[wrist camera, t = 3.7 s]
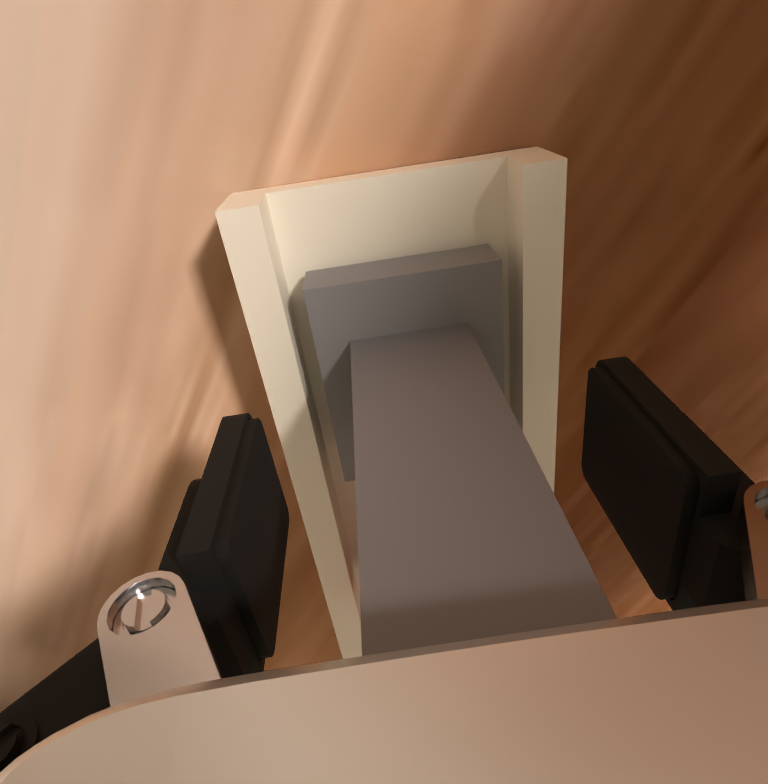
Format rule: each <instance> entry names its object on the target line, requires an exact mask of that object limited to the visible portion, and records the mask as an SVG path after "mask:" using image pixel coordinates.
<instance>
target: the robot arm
mask: <svg viewBox="0 0 768 784" xmlns="http://www.w3.org/2000/svg"><path fill="white" fill-rule="evenodd" d="M582 471H583V475H584V477H585V479H586V481H587V483H588V485H589V486H590V488H591V490H592V491H593V493H594V495H595V496H596V498H597V500H598V501H599V503H600V505H601V506H602V508H603V510H604V511H605V513H606V515H607V516H608V518H609V520H610V521H611V523H612V525H613V526H614V528H615V530H616V531H617V533H618V535H619V536H620V538H621V540H622V541H623V543H624V545H625V546H626V548H627V550H628V551H629V553H630V555H631V556H632V558H633V560H634V561H635V563H636V565H637V566H638V568H639V570H640V571H641V573H642V575H643V576H644V578H645V580H646V581H647V583H648V585H649V586H650V588H651V590H652V591H653V593H654V594H655V596H656V597H657V598H658V599H661V600H662V599H666V601H667V602H668V604H669V605H670V607H671V609H672V610H673V611H667V612H660V613H653V614H646V615H639V616H632V617H625V618H618V619H610V620H603V621H596V622H589V623H582V624H575V625H568V626H561V627H555V628H548V629H541V630H534V631H527V632H520V633H513V634H506V635H500V636H493V637H486V638H479V639H472V640H466V641H459V642H452V643H445V644H439V645H432V646H425V647H418V648H412V649H405V650H399V651H392V652H385V653H379V654H372V655H366V656H359V657H353V658H346V659H339V660H333V661H326V662H320V663H313V664H307V665H300V666H293V667H287V668H281V669H275V670H269V671H264V663H265V658H267V657H272V656H273V654H274V650H275V642H276V633H277V624H278V616H279V607H280V598H281V589H282V580H283V571H284V562H285V554H286V545H287V536H288V527H289V514H288V508H287V505H286V501H285V498H284V495H283V491H282V488H281V485H280V481H279V478H278V475H277V471H276V468H275V465H274V462H273V458H272V455H271V452H270V448H269V445H268V442H267V438H266V435H265V432H264V429H263V425H262V422H261V420H260V419H259V418H256V419H252V417H251V415H250V414H249V413H246V414H239V415H233V416H226V417H223V418H222V420H221V423H220V426H219V429H218V432H217V435H216V438H215V441H214V444H213V447H212V450H211V453H210V455H209V458H208V461H207V464H206V467H205V470H204V473H203V476H202V479H196V480H193V481H192V482H191V483H190V485H189V487H188V489H187V492H186V495H185V498H184V500H183V503H182V506H181V509H180V511H179V514H178V517H177V520H176V522H175V525H174V528H173V531H172V533H171V536H170V539H169V542H168V544H167V547H166V550H165V553H164V555H163V558H162V561H161V564H160V566H159V569H158V571H154V572H148V573H145V574H143V575H140V576H137V577H135V578H133V579H131V580H130V581H128V582H127V583H125V584H123V585H122V586H121V587H119V588H118V589H117V590H116V591H115V592H114V593H113V594H112V595H111V596H110V597H109V598H108V600H107V601H106V602H105V604H104V605H103V606H102V608H101V611H100V613H99V615H98V618H97V632H98V639H96V640H95V641H94V642H92V643H91V644H90V645H88V646H87V647H86V648H84V649H83V650H82V651H81V652H79V653H78V654H77V655H75V656H74V657H73V658H71V659H70V660H69V661H67V662H66V663H65V664H64V665H62V666H61V667H60V668H58V669H57V670H56V671H54V672H53V673H52V674H50V675H49V676H48V677H46V678H45V679H44V680H43V681H41V682H40V683H39V684H37V685H36V686H35V687H33V688H32V689H31V690H29V691H28V692H27V693H26V694H24V695H23V696H22V697H20V698H19V699H18V700H16V701H15V702H14V703H12V704H11V705H10V706H9V707H7V708H6V709H5V710H3V711H2V712H1V713H0V784H768V481H762V482H758V483H756V484H755V483H754V482H753V481H752V480H751V479H750V478H749V477H748V476H747V475H746V474H745V473H744V472H743V471H742V470H741V469H740V468H739V467H738V466H737V465H736V464H735V463H734V462H733V461H732V460H731V459H730V458H729V457H728V456H727V455H726V454H725V453H724V452H723V451H722V450H721V449H720V448H719V447H718V446H717V445H716V444H715V443H714V442H713V441H712V440H711V439H710V438H709V437H708V436H707V435H706V434H705V433H704V432H703V431H702V430H701V429H700V428H699V427H698V426H697V425H696V424H695V423H694V422H693V421H692V420H690V419H689V418H688V417H687V416H686V415H685V414H684V413H683V412H682V411H681V410H680V409H679V408H678V407H677V406H676V405H675V404H674V403H673V402H672V401H671V400H670V399H669V398H668V397H667V396H666V395H665V394H664V393H663V392H662V391H661V390H660V389H659V388H658V387H657V386H656V385H655V384H654V383H653V382H652V381H651V380H650V379H649V378H648V377H647V376H646V375H645V374H644V373H643V372H642V371H641V370H640V369H639V368H638V367H637V366H636V365H635V364H634V363H633V362H632V361H631V360H630V359H629V358H627V357H619V358H612V359H605V360H599V361H598V362H597V364H596V368H591V369H590V370H589V372H588V383H587V396H586V410H585V424H584V438H583V451H582Z"/></svg>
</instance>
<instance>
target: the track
mask: <svg viewBox="0 0 768 784" xmlns="http://www.w3.org/2000/svg"><path fill="white" fill-rule="evenodd" d="M567 159H568V158H566V157H564V156H561V155H558V154H556V153H553V152H550V151H548V150H545V149H543V148H540V147H537V146H535V147H529V148H522V149H516V150H509V151H503V152H496V153H490V154H483V155H477V156H470V157H464V158H457V159H451V160H444V161H437V162H431V163H424V164H418V165H411V166H405V167H398V168H392V169H385V170H379V171H372V172H366V173H359V174H353V175H346V176H340V177H333V178H327V179H320V180H314V181H307V182H301V183H294V184H288V185H281V186H275V187H268V188H262V189H255V190H249V191H242V192H235V193H231V194H230V195H229V196H228V197H227V199H226V200H225V201H224V202H223V203H222V204H221V205H220V206H219V208H218V209H217V210H216V211H215V216H216V219H217V223H218V226H219V230H220V233H221V237H222V240H223V244H224V247H225V251H226V254H227V257H228V261H229V264H230V268H231V271H232V275H233V278H234V282H235V285H236V289H237V292H238V296H239V299H240V303H241V306H242V310H243V313H244V317H245V320H246V324H247V327H248V331H249V334H250V338H251V341H252V345H253V348H254V351H255V355H256V358H257V362H258V365H259V369H260V372H261V376H262V379H263V383H264V386H265V390H266V393H267V397H268V400H269V404H270V407H271V411H272V414H273V418H274V421H275V425H276V428H277V432H278V435H279V439H280V442H281V445H282V449H283V452H284V456H285V459H286V463H287V466H288V470H289V473H290V477H291V480H292V484H293V487H294V491H295V494H296V498H297V501H298V505H299V508H300V512H301V515H302V519H303V522H304V526H305V529H306V533H307V536H308V539H309V543H310V546H311V550H312V553H313V557H314V560H315V564H316V567H317V571H318V574H319V578H320V581H321V585H322V588H323V592H324V595H325V599H326V602H327V606H328V609H329V613H330V616H331V620H332V623H333V627H334V630H335V633H336V637H337V640H338V644H339V647H340V651H341V654H342V658H343V659H346V658H353V657H359V656H362V642H361V616H360V589H359V563H358V536H357V510H356V483H355V480H353V481H347V482H345V480H344V475H343V471H342V466H341V462H340V457H339V453H338V448H337V443H336V439H335V434H334V430H333V425H332V421H331V416H330V412H329V407H328V403H327V398H326V394H325V389H324V385H323V380H322V376H321V371H320V367H319V362H318V358H317V353H316V348H315V344H314V339H313V335H312V330H311V326H310V321H309V317H308V312H307V308H306V303H305V299H304V294H303V285H304V279H305V273H306V271H312V270H319V269H325V268H332V267H339V266H345V265H352V264H358V263H365V262H371V261H378V260H385V259H391V258H398V257H404V256H411V255H417V254H424V253H431V252H437V251H444V250H450V249H457V248H464V247H470V246H477V245H483V244H489V246H490V247H491V248H492V249H493V250H494V251H495V253H496V254H497V255H498V256H499V257H500V258H501V260H502V295H503V345H504V396H505V398H506V400H507V402H508V404H509V406H510V408H511V410H512V412H513V414H514V416H515V418H516V420H517V422H518V424H519V426H520V428H521V430H522V432H523V434H524V436H525V437H526V439H527V441H528V443H529V445H530V447H531V449H532V451H533V453H534V455H535V457H536V459H537V461H538V463H539V465H540V467H541V469H542V471H543V473H544V475H545V477H546V479H547V481H548V483H549V485H550V487H551V489H552V491H553V493H554V481H555V456H556V431H557V407H558V382H559V357H560V332H561V308H562V283H563V258H564V233H565V209H566V184H567Z"/></svg>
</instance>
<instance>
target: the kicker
mask: <svg viewBox="0 0 768 784" xmlns="http://www.w3.org/2000/svg"><path fill="white" fill-rule="evenodd" d="M303 294H304V299H305V303H306V308H307V312H308V317H309V321H310V326H311V330H312V335H313V339H314V344H315V348H316V353H317V358H318V362H319V367H320V371H321V376H322V380H323V385H324V389H325V394H326V398H327V403H328V407H329V412H330V416H331V421H332V425H333V430H334V434H335V439H336V443H337V448H338V453H339V457H340V462H341V466H342V471H343V475H344V480H345V482H347V481H353V480H355V483H356V510H357V536H358V563H359V589H360V616H361V642H362V656H366V655H372V654H379V653H385V652H392V651H399V650H405V649H412V648H418V647H425V646H432V645H439V644H445V643H452V642H459V641H466V640H472V639H479V638H486V637H493V636H500V635H506V634H513V633H520V632H527V631H534V630H541V629H548V628H555V627H561V626H568V625H575V624H582V623H589V622H596V621H603V620H610V619H617V617H616V615H615V613H614V611H613V609H612V607H611V605H610V604H609V602H608V600H607V598H606V596H605V594H604V592H603V590H602V588H601V586H600V584H599V582H598V580H597V578H596V576H595V574H594V572H593V570H592V568H591V566H590V564H589V562H588V560H587V558H586V556H585V554H584V552H583V550H582V548H581V546H580V544H579V542H578V540H577V538H576V536H575V534H574V532H573V530H572V528H571V526H570V524H569V522H568V520H567V519H566V517H565V515H564V513H563V511H562V509H561V507H560V505H559V503H558V501H557V499H556V497H555V495H554V493H553V491H552V489H551V487H550V485H549V483H548V481H547V479H546V477H545V475H544V473H543V471H542V469H541V467H540V465H539V463H538V461H537V459H536V457H535V455H534V453H533V451H532V449H531V447H530V445H529V443H528V441H527V439H526V437H525V436H524V434H523V432H522V430H521V428H520V426H519V424H518V422H517V420H516V418H515V416H514V414H513V412H512V410H511V408H510V406H509V404H508V402H507V400H506V398H505V396H504V345H503V295H502V260H501V258H500V257H499V256H498V255H497V254H496V253H495V251H494V250H493V249H492V248H491V247H490V246H489V244H483V245H477V246H470V247H464V248H457V249H450V250H444V251H437V252H431V253H424V254H417V255H411V256H404V257H398V258H391V259H385V260H378V261H371V262H365V263H358V264H352V265H345V266H339V267H332V268H325V269H319V270H312V271H306V273H305V279H304V285H303Z"/></svg>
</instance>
